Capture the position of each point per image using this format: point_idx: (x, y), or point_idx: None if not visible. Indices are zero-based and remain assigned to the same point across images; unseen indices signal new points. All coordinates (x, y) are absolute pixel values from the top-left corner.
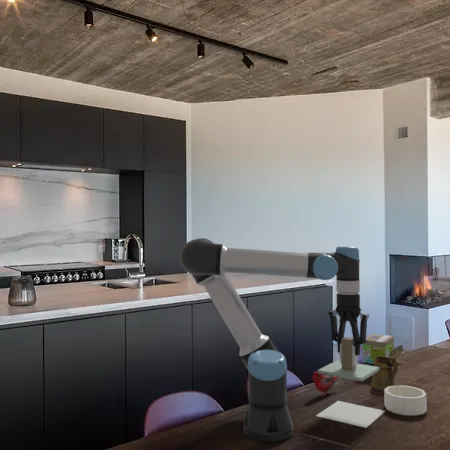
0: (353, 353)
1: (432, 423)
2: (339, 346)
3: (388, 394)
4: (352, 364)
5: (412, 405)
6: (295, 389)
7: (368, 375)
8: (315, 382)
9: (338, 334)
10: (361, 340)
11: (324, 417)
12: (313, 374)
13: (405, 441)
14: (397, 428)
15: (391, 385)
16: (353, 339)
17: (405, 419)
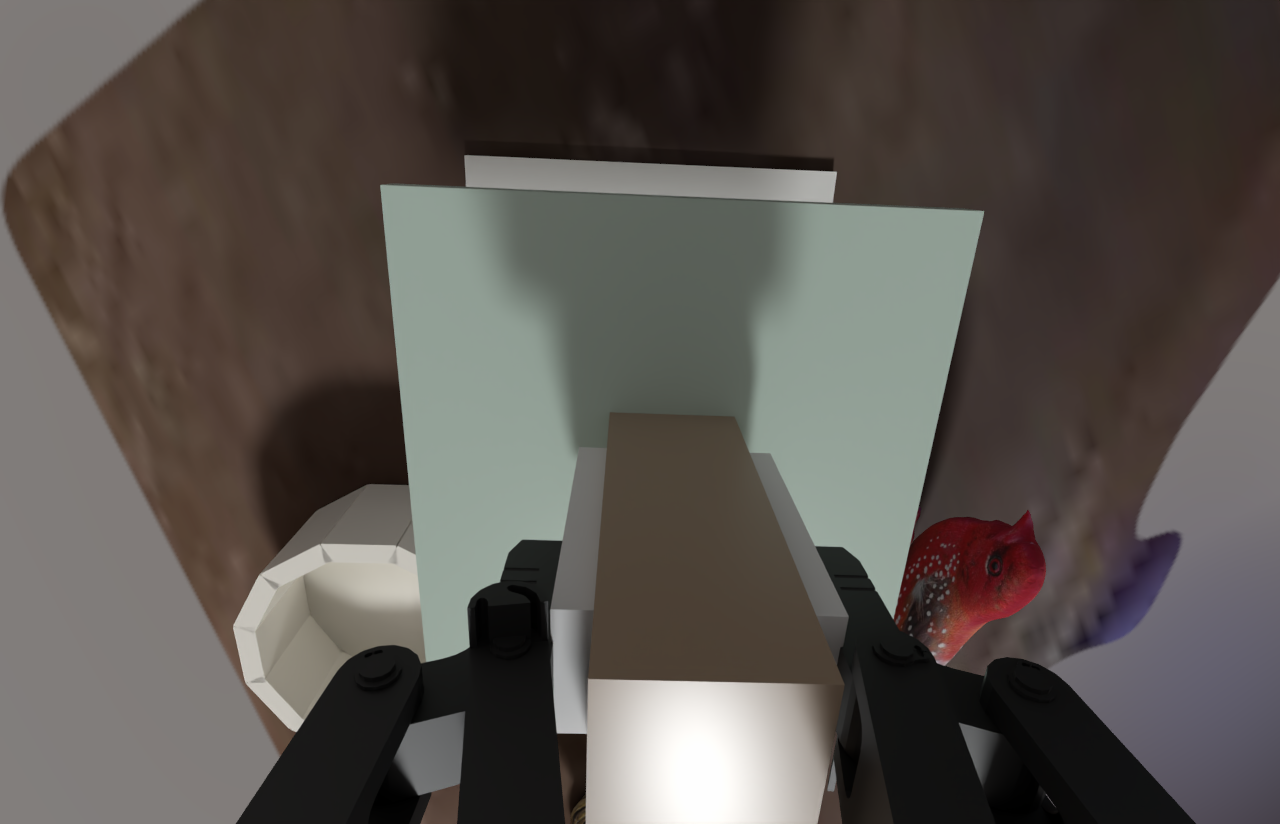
0: (577, 529)
1: (201, 468)
2: (850, 608)
3: None
4: (604, 454)
5: (298, 539)
6: (1103, 559)
7: (405, 383)
8: (988, 522)
9: (966, 785)
10: (353, 714)
11: (771, 174)
12: (1038, 550)
13: (186, 106)
14: (320, 287)
15: (581, 820)
16: (553, 714)
17: (345, 446)
